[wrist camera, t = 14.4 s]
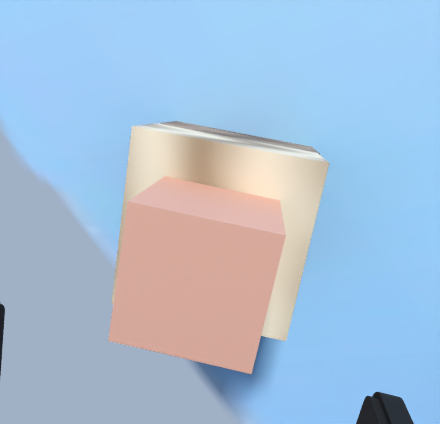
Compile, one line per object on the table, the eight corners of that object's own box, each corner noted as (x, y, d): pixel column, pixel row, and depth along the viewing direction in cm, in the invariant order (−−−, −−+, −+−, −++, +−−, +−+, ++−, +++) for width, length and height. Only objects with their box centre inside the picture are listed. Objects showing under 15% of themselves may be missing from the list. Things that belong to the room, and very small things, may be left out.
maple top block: (317, 152, 25) (329, 163, 20) (282, 300, 28) (286, 341, 23) (157, 123, 26) (132, 126, 21) (138, 270, 28) (111, 303, 23)
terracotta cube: (279, 200, 21) (286, 235, 15) (254, 305, 22) (251, 374, 17) (164, 176, 21) (127, 201, 15) (148, 281, 23) (108, 340, 17)
